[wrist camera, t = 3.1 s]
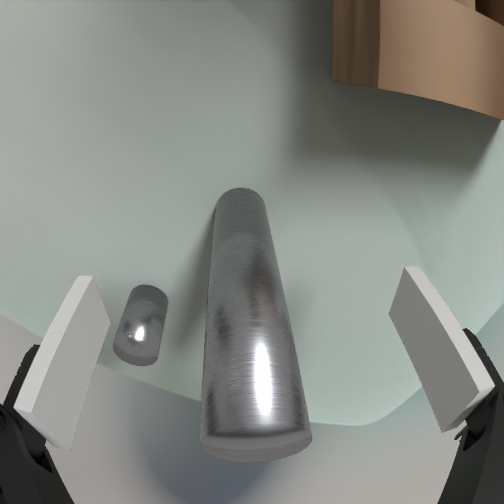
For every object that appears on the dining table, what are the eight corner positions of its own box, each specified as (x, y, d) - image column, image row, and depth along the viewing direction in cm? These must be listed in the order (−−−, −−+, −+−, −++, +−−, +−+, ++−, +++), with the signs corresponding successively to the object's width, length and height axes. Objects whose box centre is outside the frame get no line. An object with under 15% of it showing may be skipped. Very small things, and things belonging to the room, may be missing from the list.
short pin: (134, 314, 23) (120, 364, 19) (125, 285, 22) (107, 335, 17) (171, 314, 23) (162, 366, 19) (164, 284, 22) (152, 337, 17)
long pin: (216, 233, 20) (207, 463, 8) (214, 188, 18) (191, 425, 6) (264, 232, 20) (304, 457, 8) (265, 187, 18) (321, 418, 6)
